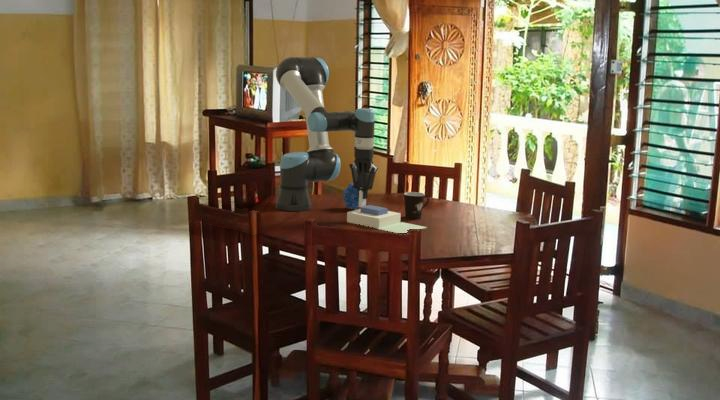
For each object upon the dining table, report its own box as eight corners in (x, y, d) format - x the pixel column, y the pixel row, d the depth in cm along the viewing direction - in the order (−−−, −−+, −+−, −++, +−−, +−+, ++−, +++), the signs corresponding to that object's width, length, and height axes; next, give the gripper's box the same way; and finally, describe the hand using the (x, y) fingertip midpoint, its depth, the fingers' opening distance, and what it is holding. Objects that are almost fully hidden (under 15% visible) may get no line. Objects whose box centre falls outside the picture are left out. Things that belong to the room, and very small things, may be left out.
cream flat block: (346, 221, 306) (347, 212, 305) (368, 216, 317) (369, 207, 316) (378, 228, 296) (379, 218, 295) (400, 223, 307) (400, 213, 306)
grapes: (370, 210, 329) (371, 182, 327) (361, 212, 324) (362, 184, 321) (349, 206, 336) (349, 178, 334) (339, 208, 331) (340, 180, 328)
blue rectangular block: (360, 212, 306) (360, 207, 306) (369, 209, 311) (369, 205, 310) (378, 215, 300) (378, 210, 300) (387, 213, 305) (387, 208, 305)
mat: (377, 229, 295) (377, 228, 295) (401, 222, 308) (401, 222, 308) (402, 234, 288) (402, 234, 288) (426, 227, 300) (426, 227, 300)
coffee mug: (405, 220, 312) (406, 196, 310) (400, 215, 320) (401, 192, 318) (433, 220, 314) (434, 196, 312) (427, 215, 323) (428, 191, 321)
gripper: (345, 147, 305) (343, 205, 310) (371, 150, 297) (369, 210, 302) (357, 145, 311) (355, 202, 316) (382, 148, 303) (380, 207, 308)
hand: (362, 206), depth 309 cm, fingers closed
